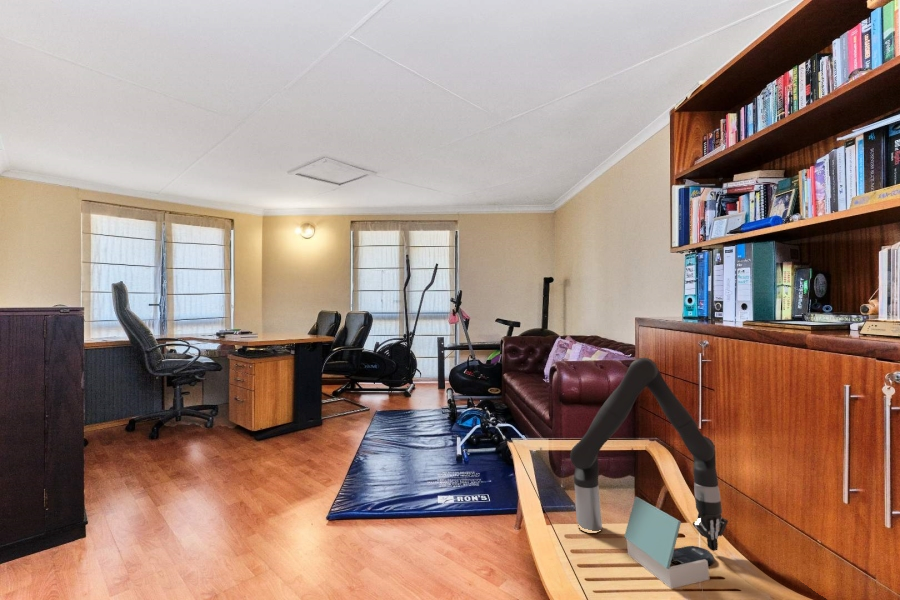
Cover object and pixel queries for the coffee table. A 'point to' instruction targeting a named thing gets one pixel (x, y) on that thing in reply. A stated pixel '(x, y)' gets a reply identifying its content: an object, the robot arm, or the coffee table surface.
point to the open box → (671, 569)
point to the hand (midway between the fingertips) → (713, 549)
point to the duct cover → (653, 531)
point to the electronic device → (691, 555)
